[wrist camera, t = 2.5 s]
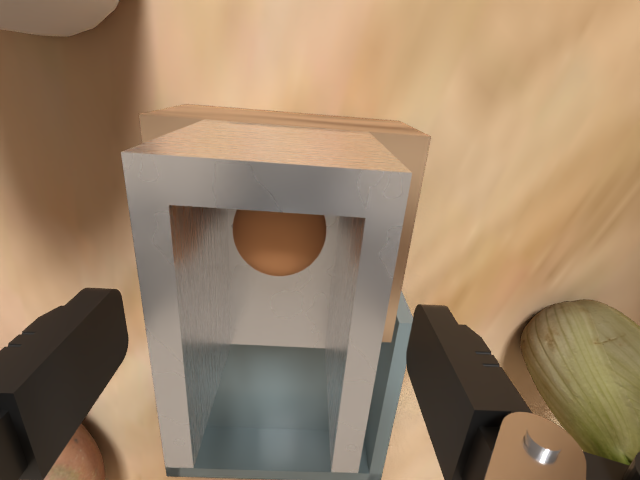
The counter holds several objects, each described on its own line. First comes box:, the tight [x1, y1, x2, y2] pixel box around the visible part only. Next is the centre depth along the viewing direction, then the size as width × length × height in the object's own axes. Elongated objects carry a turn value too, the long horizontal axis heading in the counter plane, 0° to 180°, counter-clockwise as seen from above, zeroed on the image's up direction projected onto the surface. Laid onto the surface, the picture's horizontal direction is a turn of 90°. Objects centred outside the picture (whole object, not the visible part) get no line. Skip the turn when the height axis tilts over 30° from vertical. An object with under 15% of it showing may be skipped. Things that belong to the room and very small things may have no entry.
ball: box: [233, 209, 326, 276], centre depth 12 cm, size 3×3×3 cm
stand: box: [139, 104, 431, 342], centre depth 17 cm, size 9×10×5 cm
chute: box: [121, 119, 412, 473], centre depth 12 cm, size 9×6×6 cm, turn 176°
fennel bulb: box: [520, 299, 640, 465], centre depth 17 cm, size 6×5×12 cm
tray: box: [166, 291, 413, 480], centre depth 22 cm, size 12×13×4 cm
